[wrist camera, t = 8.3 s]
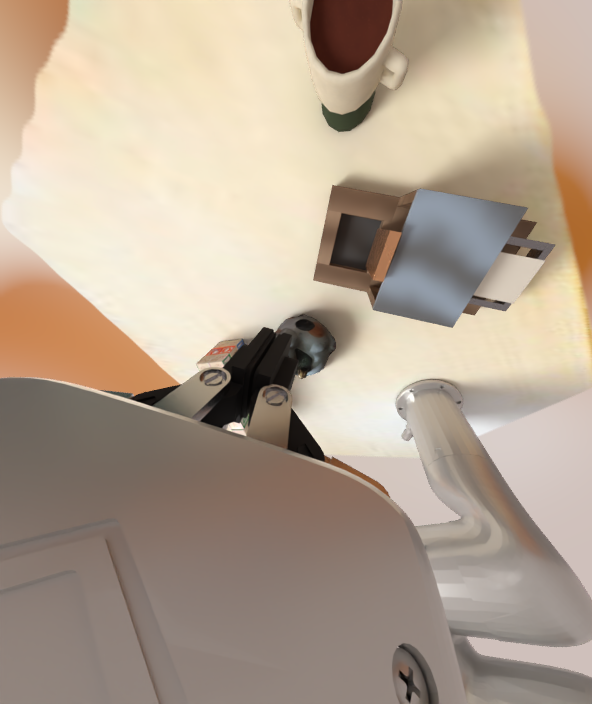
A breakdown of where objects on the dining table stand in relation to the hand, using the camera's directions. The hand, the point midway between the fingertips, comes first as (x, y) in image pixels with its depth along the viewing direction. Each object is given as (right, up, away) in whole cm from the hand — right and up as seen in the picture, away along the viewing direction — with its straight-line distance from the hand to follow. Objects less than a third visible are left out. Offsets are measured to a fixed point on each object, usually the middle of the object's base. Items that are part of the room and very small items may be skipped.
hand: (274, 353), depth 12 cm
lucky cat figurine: (+2, +2, +33) cm, 33 cm away
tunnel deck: (+19, +15, +21) cm, 32 cm away
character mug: (+8, +31, +14) cm, 35 cm away
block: (+27, +12, +18) cm, 35 cm away
